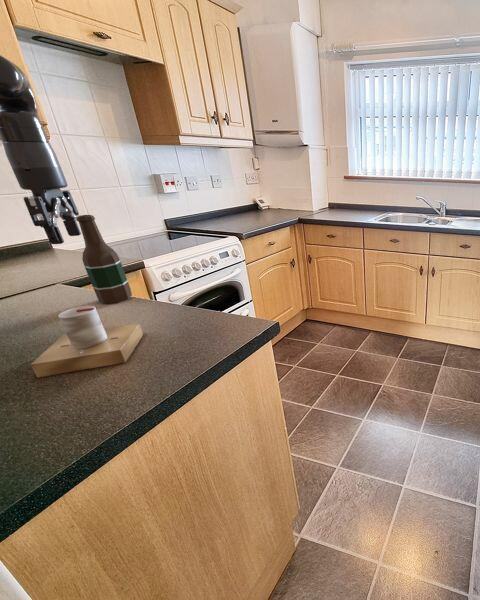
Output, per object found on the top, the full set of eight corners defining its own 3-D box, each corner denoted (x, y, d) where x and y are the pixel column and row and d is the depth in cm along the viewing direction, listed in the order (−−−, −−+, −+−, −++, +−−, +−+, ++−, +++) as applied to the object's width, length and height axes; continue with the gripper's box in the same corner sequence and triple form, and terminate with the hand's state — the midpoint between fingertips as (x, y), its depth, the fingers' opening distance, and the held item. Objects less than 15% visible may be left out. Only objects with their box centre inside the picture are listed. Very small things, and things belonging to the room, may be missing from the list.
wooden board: (37, 377, 64) (29, 363, 62) (68, 346, 74) (62, 333, 73) (125, 362, 68) (120, 349, 67) (143, 334, 78) (139, 323, 77)
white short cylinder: (66, 351, 67) (51, 318, 64) (80, 337, 71) (66, 306, 68) (101, 345, 68) (87, 313, 65) (111, 333, 73) (99, 302, 70)
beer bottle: (99, 298, 99) (65, 215, 89) (131, 291, 103) (103, 212, 93) (99, 306, 93) (63, 219, 83) (133, 299, 98) (103, 215, 88)
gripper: (32, 164, 77) (61, 234, 84) (-10, 167, 65) (28, 248, 72) (73, 164, 80) (98, 232, 86) (40, 166, 68) (72, 245, 74)
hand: (67, 239), depth 79 cm, fingers open, 8 cm apart
